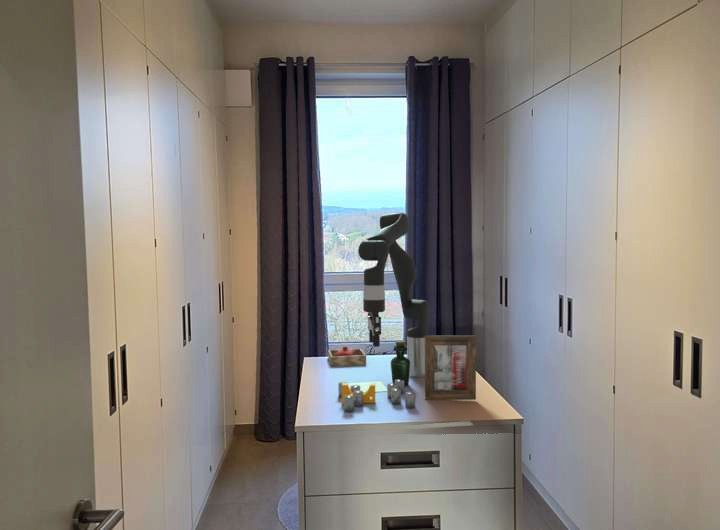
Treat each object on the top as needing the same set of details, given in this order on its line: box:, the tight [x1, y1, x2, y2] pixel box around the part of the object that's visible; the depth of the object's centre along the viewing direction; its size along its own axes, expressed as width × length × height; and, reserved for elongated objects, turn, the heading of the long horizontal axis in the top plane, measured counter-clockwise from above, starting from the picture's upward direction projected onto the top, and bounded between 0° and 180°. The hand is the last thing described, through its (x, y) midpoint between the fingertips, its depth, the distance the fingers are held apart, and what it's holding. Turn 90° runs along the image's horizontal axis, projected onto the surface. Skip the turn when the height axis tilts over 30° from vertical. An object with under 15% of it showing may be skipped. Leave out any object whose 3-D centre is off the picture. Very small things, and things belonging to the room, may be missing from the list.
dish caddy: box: [327, 348, 367, 367], centre depth 250 cm, size 17×16×5 cm
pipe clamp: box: [341, 382, 376, 405], centre depth 188 cm, size 12×4×6 cm, turn 86°
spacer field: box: [337, 379, 416, 413], centre depth 190 cm, size 26×21×5 cm
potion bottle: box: [390, 339, 410, 388], centre depth 211 cm, size 8×8×18 cm
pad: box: [347, 381, 387, 393], centre depth 208 cm, size 16×14×1 cm
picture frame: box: [424, 335, 477, 401], centre depth 191 cm, size 19×2×24 cm, turn 87°
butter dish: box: [336, 345, 355, 356], centre depth 250 cm, size 12×12×8 cm
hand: (374, 344), depth 179 cm, fingers open, 8 cm apart
